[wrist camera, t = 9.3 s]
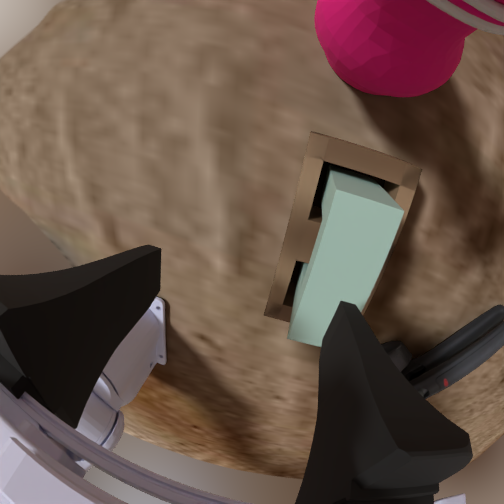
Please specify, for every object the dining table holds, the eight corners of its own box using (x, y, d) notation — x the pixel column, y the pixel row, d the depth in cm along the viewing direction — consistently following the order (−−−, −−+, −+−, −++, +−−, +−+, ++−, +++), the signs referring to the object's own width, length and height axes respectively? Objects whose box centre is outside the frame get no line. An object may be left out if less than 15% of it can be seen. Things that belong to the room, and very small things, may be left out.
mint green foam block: (336, 283, 20) (340, 351, 14) (298, 272, 20) (287, 338, 14) (373, 178, 16) (404, 211, 10) (328, 165, 16) (336, 189, 10)
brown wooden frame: (349, 311, 21) (351, 337, 18) (270, 291, 21) (263, 315, 19) (406, 161, 15) (422, 169, 12) (311, 131, 16) (310, 132, 13)
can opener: (355, 395, 25) (355, 439, 20) (330, 357, 24) (329, 407, 19) (504, 328, 18) (525, 366, 13) (503, 276, 16) (533, 315, 11)
